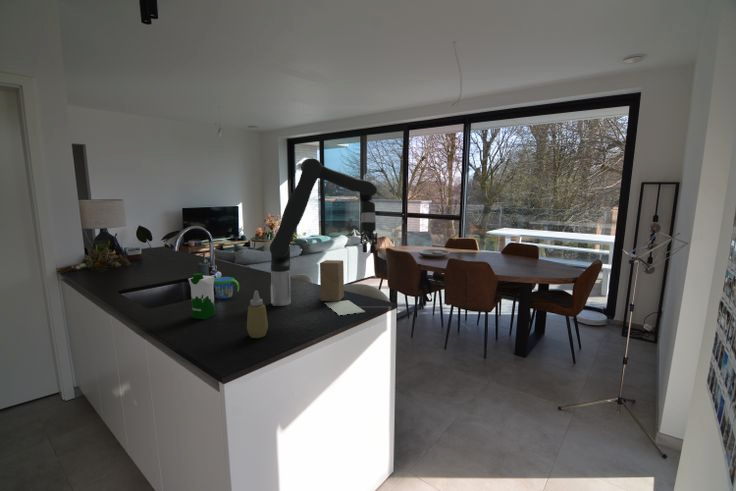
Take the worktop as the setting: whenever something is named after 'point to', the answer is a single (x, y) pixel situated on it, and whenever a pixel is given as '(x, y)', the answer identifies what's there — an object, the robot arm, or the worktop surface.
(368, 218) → the robot arm
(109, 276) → the worktop surface
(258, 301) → the squeeze bottle
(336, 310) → the mat
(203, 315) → the milk carton
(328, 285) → the wooden block
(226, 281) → the snack cup
